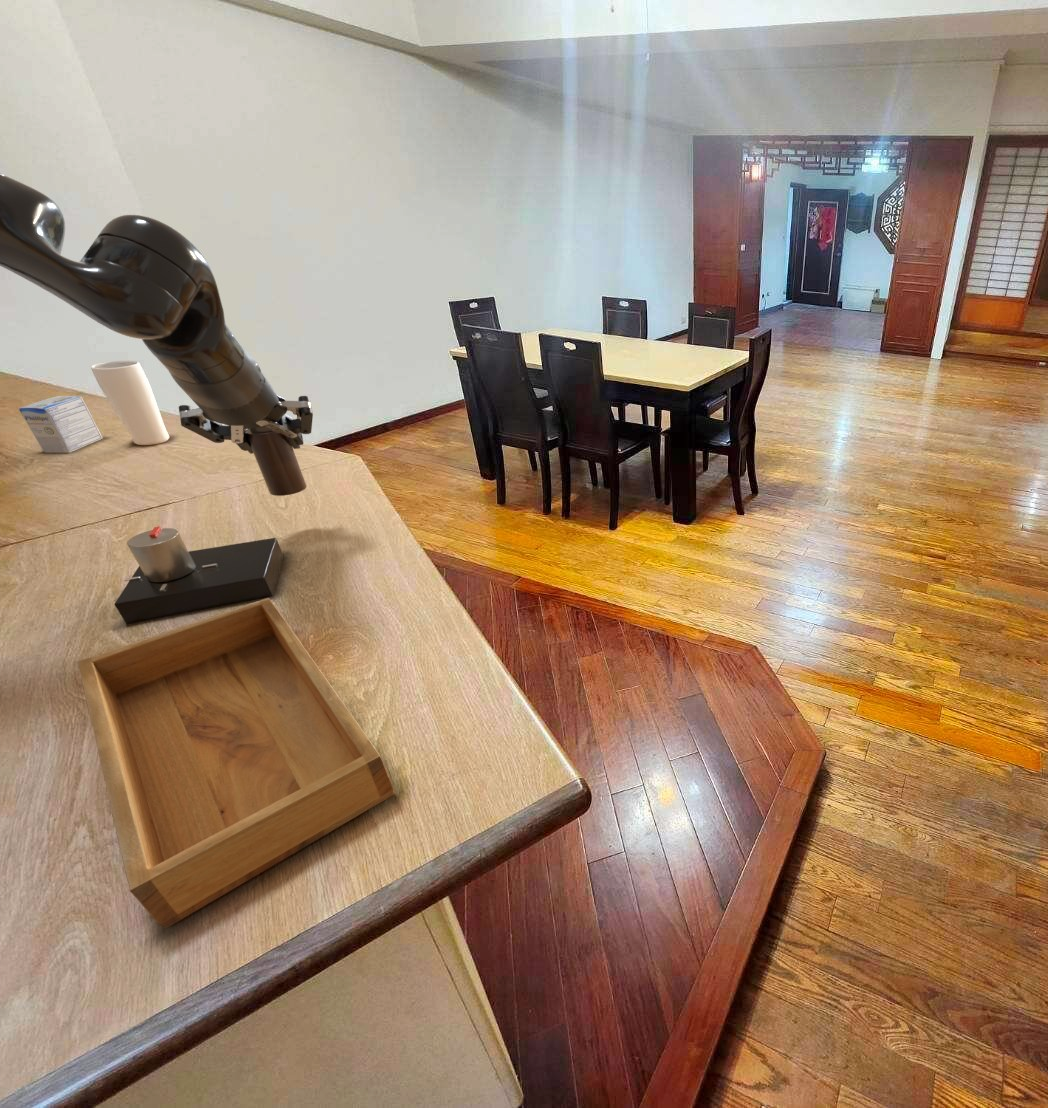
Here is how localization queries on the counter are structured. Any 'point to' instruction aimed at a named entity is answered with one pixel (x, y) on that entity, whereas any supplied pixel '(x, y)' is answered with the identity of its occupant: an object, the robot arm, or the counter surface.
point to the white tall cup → (132, 400)
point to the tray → (222, 755)
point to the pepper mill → (276, 461)
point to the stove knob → (161, 554)
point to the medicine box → (61, 424)
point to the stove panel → (206, 582)
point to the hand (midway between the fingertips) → (275, 444)
